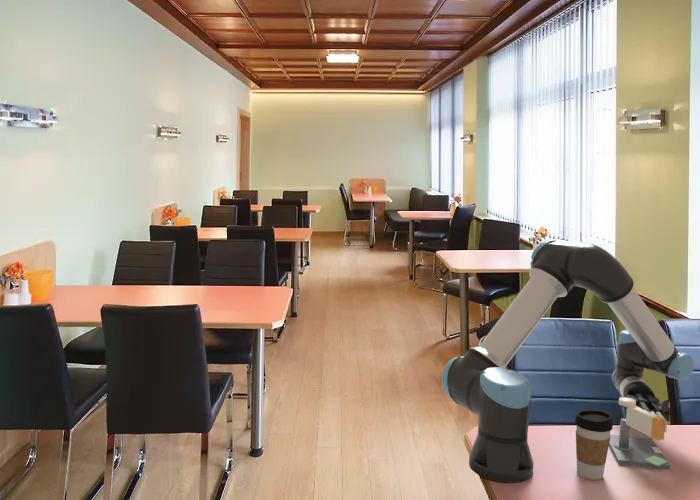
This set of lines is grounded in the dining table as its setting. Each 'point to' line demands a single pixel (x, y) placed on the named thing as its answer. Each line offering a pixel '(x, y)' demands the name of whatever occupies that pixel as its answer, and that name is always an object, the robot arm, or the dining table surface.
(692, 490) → the dining table surface
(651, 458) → the tuner board
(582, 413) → the coffee cup
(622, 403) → the orange tipped swivel lever
